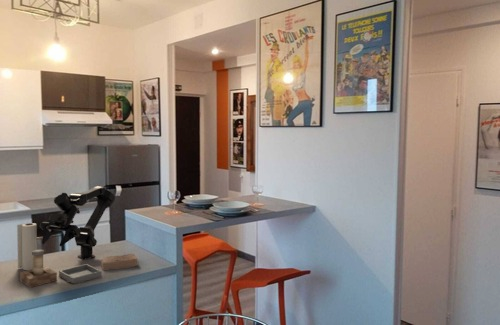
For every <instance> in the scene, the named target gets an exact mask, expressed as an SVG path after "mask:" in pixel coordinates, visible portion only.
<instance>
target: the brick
mask: <svg viewBox="0 0 500 325" xmlns="http://www.w3.org/2000/svg"><path fill="white" fill-rule="evenodd" d="M100 261H101V262H100V263H101V271H109V269H111V270H117V269H120V270H121V269H126V268H128V269H129V268H134V267H137V266H138V264H139V263H138V262H139V261H138V257H137V255H136V253H128V254H123V255H111V256H103V257H102V258H101V260H100Z"/></svg>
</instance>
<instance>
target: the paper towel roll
mask: <svg viewBox="0 0 500 325" xmlns="http://www.w3.org/2000/svg"><path fill="white" fill-rule="evenodd" d="M16 228H17V231H16V233H17V238H16V239H17V269H22V270H23V271H28V270H32V269H33V255H32V251H34V250H38V248H37V245H38V244H37V240H38V239H37V223H35V222H34V223H33V222H29V223H21V224H17V226H16Z"/></svg>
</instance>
